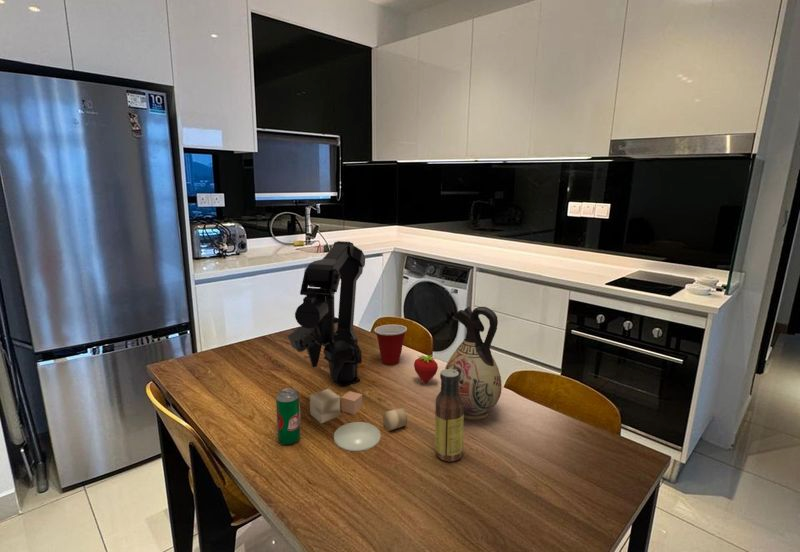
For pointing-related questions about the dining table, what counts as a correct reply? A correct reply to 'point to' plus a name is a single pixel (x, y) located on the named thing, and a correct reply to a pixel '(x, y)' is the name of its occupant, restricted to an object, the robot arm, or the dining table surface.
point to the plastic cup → (390, 342)
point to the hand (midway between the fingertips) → (323, 373)
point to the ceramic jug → (476, 364)
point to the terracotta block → (351, 402)
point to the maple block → (324, 405)
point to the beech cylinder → (394, 418)
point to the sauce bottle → (449, 418)
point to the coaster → (357, 436)
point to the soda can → (288, 416)
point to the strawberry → (425, 367)
